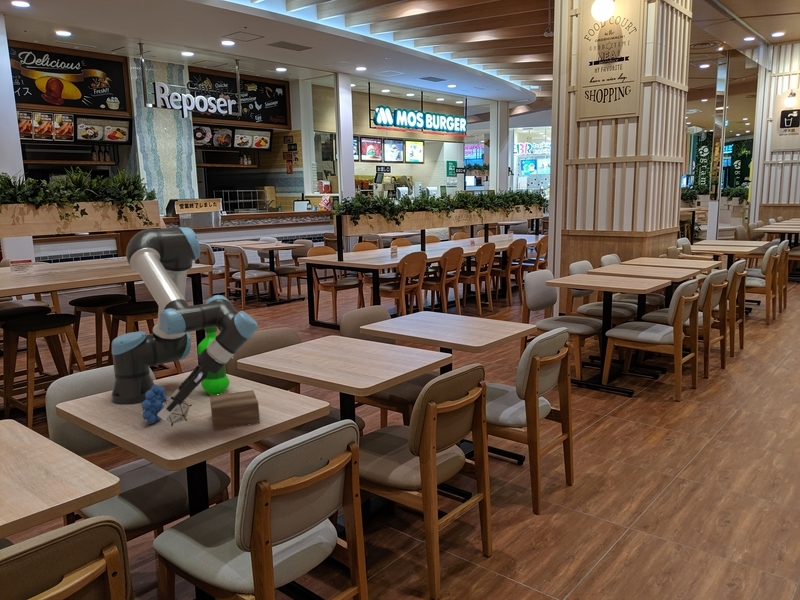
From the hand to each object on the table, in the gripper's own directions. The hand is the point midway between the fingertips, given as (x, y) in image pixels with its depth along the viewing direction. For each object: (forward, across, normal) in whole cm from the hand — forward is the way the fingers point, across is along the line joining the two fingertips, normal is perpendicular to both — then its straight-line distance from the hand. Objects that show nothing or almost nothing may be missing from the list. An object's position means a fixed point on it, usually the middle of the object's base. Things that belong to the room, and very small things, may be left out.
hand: (163, 412), depth 182 cm
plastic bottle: (-1, +41, -13) cm, 43 cm away
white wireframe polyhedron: (0, 0, -5) cm, 5 cm away
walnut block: (-8, +11, -20) cm, 24 cm away
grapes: (+11, +16, -1) cm, 19 cm away
